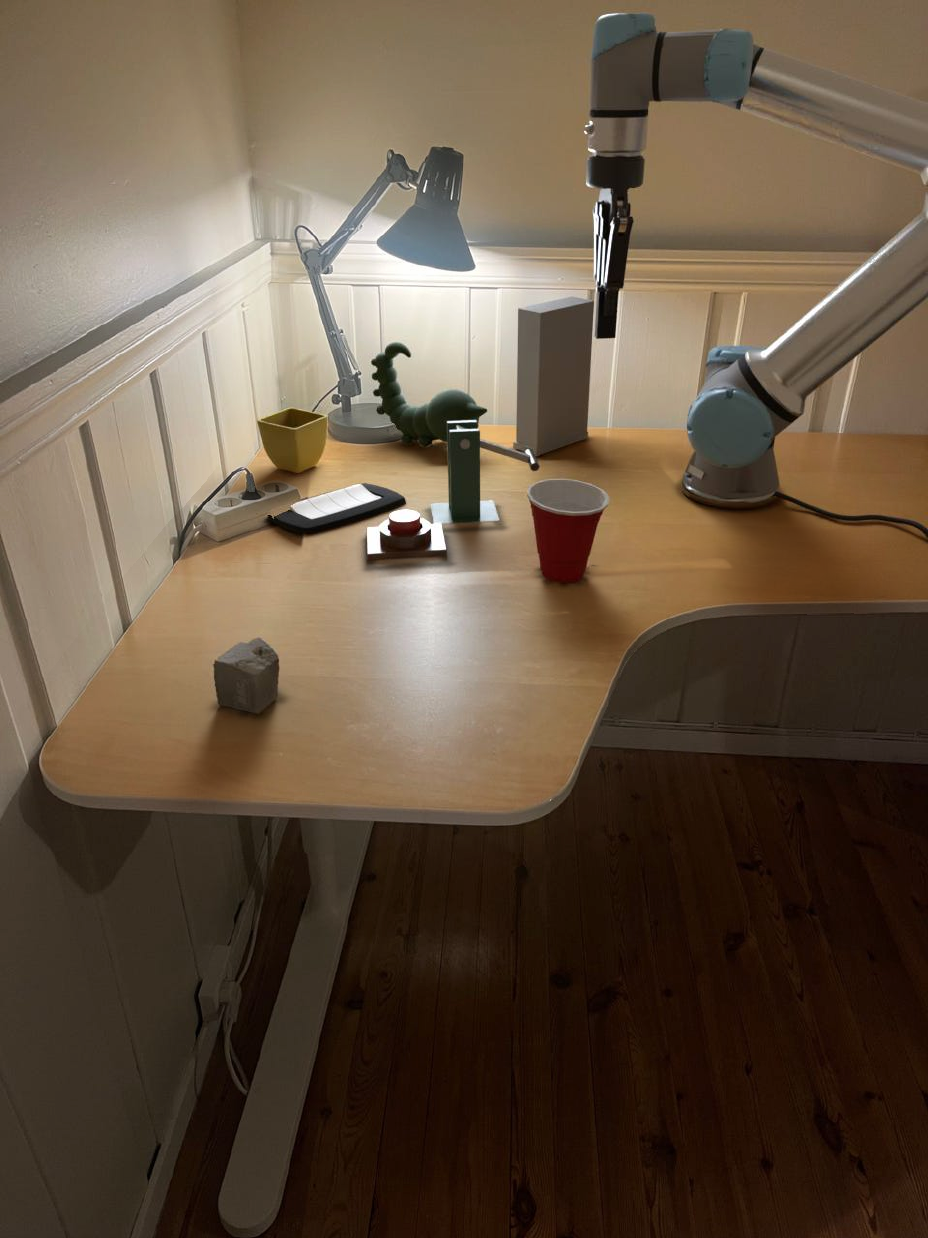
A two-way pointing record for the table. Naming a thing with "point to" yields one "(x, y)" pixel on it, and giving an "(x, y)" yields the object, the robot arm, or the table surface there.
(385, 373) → the toy figurine
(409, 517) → the button
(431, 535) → the button block
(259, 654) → the mineral specimen
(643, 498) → the table surface
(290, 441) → the flower pot
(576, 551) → the plastic cup
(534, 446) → the tall grey upright slab
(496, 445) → the switch lever
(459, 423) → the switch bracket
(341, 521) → the light switch
